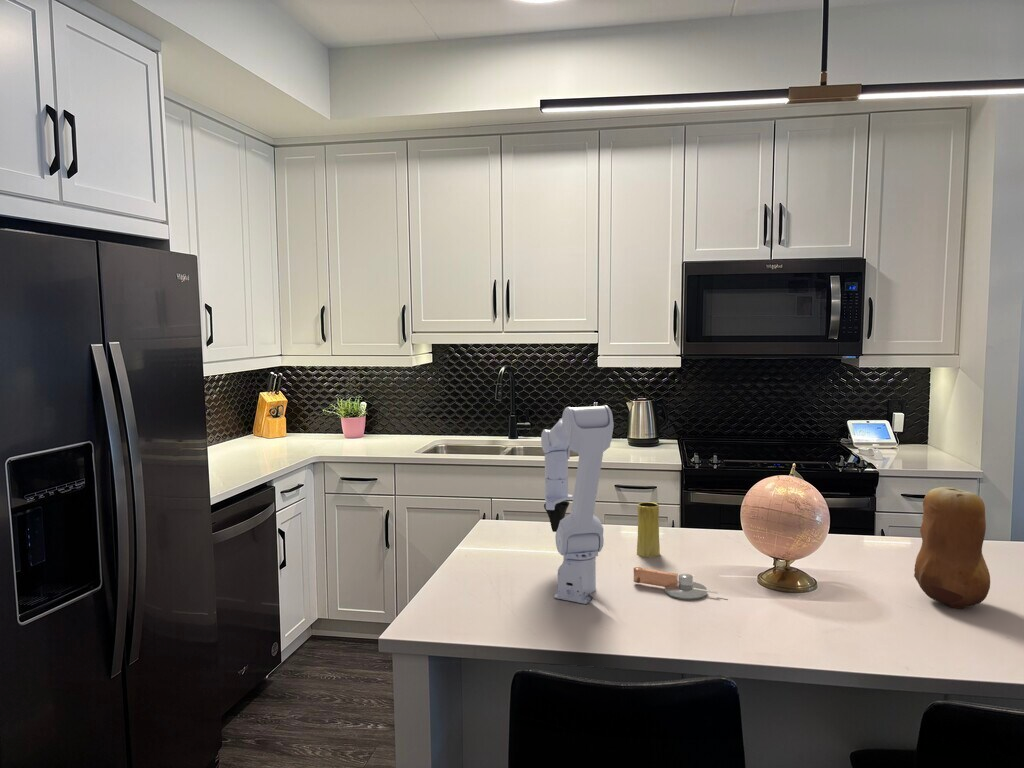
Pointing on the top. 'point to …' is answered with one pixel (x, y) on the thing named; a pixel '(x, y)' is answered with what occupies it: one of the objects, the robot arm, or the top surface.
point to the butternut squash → (953, 548)
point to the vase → (648, 530)
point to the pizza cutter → (672, 583)
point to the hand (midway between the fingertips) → (557, 531)
